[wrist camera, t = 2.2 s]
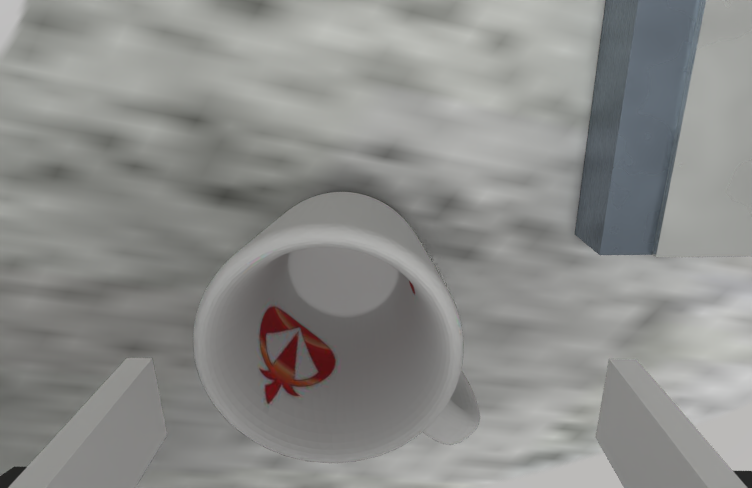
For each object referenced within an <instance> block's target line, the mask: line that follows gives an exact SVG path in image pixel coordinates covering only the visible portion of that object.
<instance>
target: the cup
mask: <svg viewBox="0 0 752 488" xmlns="http://www.w3.org/2000/svg"><path fill="white" fill-rule="evenodd" d="M193 350H194V357H195V363H196V367H197V371H198V374H199V377H200V379H201V382H202V384H203V387H204V389H205V391H206V393H207V394H208V396H209V398H210V399H211V401H212V402H213V404H214V405H215V407H216V408H217V409H218V410H219V412H220V413H221V414H222V415H223V416H224V418H225V419H226V420H227V421H228V422H229V423H230V424H232V425H233V426H234V427H235V428H236V429H237V430H238V431H240V432H241V433H242V434H244V435H245V436H247V437H248V438H249V439H251V440H252V441H254V442H256V443H258V444H260V445H262V446H263V447H265V448H267V449H270V450H272V451H275V452H277V453H280V454H282V455H284V456H288V457H292V458H297V459H301V460H305V461H311V462H323V463H341V462H355V461H360V460H364V459H368V458H372V457H377V456H380V455H382V454H385V453H387V452H390V451H392V450H395V449H397V448H399V447H401V446H403V445H404V444H406V443H408V442H409V441H411V440H412V439H414V438H415V437H417V436H418V435H419V434H421V433H422V432H423V433H424V434H426V435H427V436H429V437H431V438H432V439H434V440H436V441H438V442H440V443H443V444H447V445H453V444H457V443H460V442H462V441H463V440H465V439H466V438H468V437H469V436H470V435H471V434H472V433H473V432H474V431H475V430H476V429H477V427H478V425H479V422H480V412H479V407H478V404H477V401H476V398H475V395H474V392H473V390H472V388H471V386H470V384H469V382H468V380H467V378H466V377H465V375H464V373H463V372H462V371H461V368H462V363H463V353H464V347H463V332H462V325H461V321H460V317H459V314H458V311H457V308H456V305H455V303H454V300H453V298H452V296H451V294H450V292H449V290H448V289H447V287H446V285H445V283H444V282H443V280H442V278H441V277H440V275H439V273H438V271H437V270H436V268H435V266H434V265H433V263H432V261H431V259H430V258H429V256H428V254H427V253H426V251H425V249H424V247H423V246H422V244H421V242H420V241H419V239H418V237H417V236H416V234H415V233H414V231H413V230H412V228H411V227H410V225H409V224H408V223H407V222H406V221H405V220H404V219H403V218H402V217H401V216H400V215H399V214H398V213H397V212H396V211H395V210H394V209H392V208H391V207H389V206H388V205H386V204H385V203H383V202H381V201H379V200H377V199H375V198H372V197H369V196H367V195H363V194H358V193H352V192H331V193H325V194H321V195H317V196H314V197H311V198H309V199H306V200H304V201H302V202H300V203H299V204H297V205H295V206H294V207H292V208H291V209H289V210H288V211H287V212H285V213H284V214H283V215H282V216H280V217H279V218H278V219H277V220H276V221H274V222H273V223H272V224H271V225H269V226H268V227H267V228H266V229H265V230H263V231H262V232H261V233H260V234H258V235H257V236H256V237H255V238H254V239H252V240H251V241H250V242H249V243H247V244H246V245H245V246H244V247H243V248H241V249H240V250H239V251H238V252H236V253H235V254H234V255H233V256H232V257H231V258H230V259H229V260H228V261H227V262H226V263H225V264H224V265H223V266H222V267H221V268H220V269H219V271H218V272H217V273H216V275H215V276H214V277H213V279H212V280H211V282H210V283H209V285H208V287H207V289H206V290H205V292H204V294H203V297H202V299H201V302H200V304H199V307H198V310H197V314H196V318H195V323H194V331H193Z"/></svg>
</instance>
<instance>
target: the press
mask: <svg viewBox="0 0 752 488" xmlns="http://www.w3.org/2000/svg"><path fill="white" fill-rule="evenodd" d="M575 235H576V236H578V237H579V238H580V239H581V240H582V241H584V242H585V243H586V244H587V245H588V246H589V247H591V248H592V249H593V250H594V251H595V252H597V253H598V254H599V255H653V256H655V257H741V256H752V0H606V4H605V12H604V19H603V27H602V34H601V42H600V49H599V57H598V65H597V72H596V80H595V87H594V95H593V102H592V110H591V117H590V125H589V132H588V140H587V148H586V155H585V163H584V170H583V178H582V185H581V193H580V200H579V208H578V215H577V223H576V230H575Z"/></svg>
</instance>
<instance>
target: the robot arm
mask: <svg viewBox="0 0 752 488" xmlns="http://www.w3.org/2000/svg"><path fill="white" fill-rule="evenodd" d="M166 436H167V430H166V425H165V420H164V415H163V409H162V404H161V399H160V394H159V389H158V383H157V378H156V373H155V368H154V363H153V358H126V359H125V360H124V361H123V363H122V364H121V365H120V366H119V367H118V368H117V369H116V370H115V371H114V372H113V373H112V375H111V376H110V377H109V378H108V379H107V380H106V381H105V382H104V383H103V384H102V386H101V387H100V388H99V389H98V390H97V391H96V392H95V393H94V394H93V395H92V396H91V398H90V399H89V400H88V401H87V402H86V403H85V404H84V405H83V406H82V407H81V409H80V410H79V411H78V412H77V413H76V414H75V415H74V416H73V417H72V418H71V419H70V421H69V422H68V423H67V424H66V425H65V426H64V427H63V428H62V429H61V430H60V431H59V433H58V434H57V435H56V436H55V437H54V438H53V439H52V440H51V441H50V442H49V444H48V445H47V446H46V447H45V448H44V449H43V450H42V451H41V452H40V453H39V454H38V456H37V457H36V458H35V459H34V460H33V461H32V462H31V463H30V464H29V465H28V467H13V468H12V469H10V470H9V471H7V472H6V473H4V474H3V475H1V476H0V488H135V487H136V486H137V484H138V482H139V481H140V479H141V477H142V476H143V474H144V473H145V471H146V469H147V468H148V466H149V464H150V463H151V461H152V459H153V458H154V456H155V454H156V453H157V451H158V449H159V448H160V446H161V445H162V443H163V441H164V440H165V438H166ZM596 439H597V441H598V443H599V444H600V446H601V448H602V450H603V451H604V453H605V455H606V457H607V459H608V460H609V462H610V464H611V465H612V467H613V469H614V471H615V473H616V474H617V476H618V478H619V480H620V481H621V483H622V485H623V487H624V488H752V471H733V470H732V469H731V468H730V467H729V466H728V465H727V463H726V462H725V461H724V460H723V459H722V458H721V456H720V455H719V454H718V453H717V452H716V451H715V450H714V448H713V447H712V446H711V445H710V444H709V443H708V441H707V440H706V439H705V438H704V437H703V436H702V434H701V433H700V432H699V431H698V430H697V429H696V427H695V426H694V425H693V424H692V423H691V422H690V421H689V419H688V418H687V417H686V416H685V415H684V414H683V412H682V411H681V410H680V409H679V408H678V407H677V405H676V404H675V403H674V402H673V401H672V400H671V399H670V397H669V396H668V395H667V394H666V393H665V392H664V390H663V389H662V388H661V387H660V386H659V385H658V383H657V382H656V381H655V380H654V379H653V378H652V377H651V375H650V374H649V373H648V372H647V371H646V370H645V368H644V367H643V366H642V365H641V364H640V363H639V361H638V360H637V359H609V361H608V367H607V373H606V379H605V385H604V390H603V396H602V402H601V408H600V414H599V420H598V426H597V432H596Z"/></svg>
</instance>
